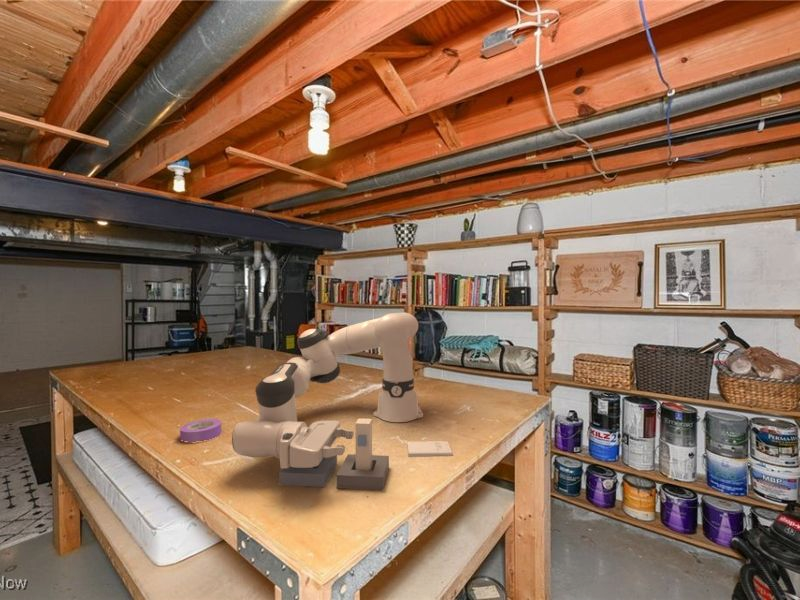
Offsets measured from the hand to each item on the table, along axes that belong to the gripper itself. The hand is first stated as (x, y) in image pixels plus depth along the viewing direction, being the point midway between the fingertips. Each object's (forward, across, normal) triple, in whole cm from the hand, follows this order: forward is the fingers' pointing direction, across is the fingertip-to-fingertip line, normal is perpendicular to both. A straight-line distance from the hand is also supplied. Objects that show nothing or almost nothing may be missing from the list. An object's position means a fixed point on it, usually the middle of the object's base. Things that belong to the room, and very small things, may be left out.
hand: (348, 442), depth 87 cm
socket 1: (-10, 0, -9) cm, 13 cm away
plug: (+4, 0, -9) cm, 10 cm away
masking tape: (-54, -22, -9) cm, 59 cm away
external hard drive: (+20, -17, -10) cm, 28 cm away
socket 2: (+4, 0, -9) cm, 10 cm away
